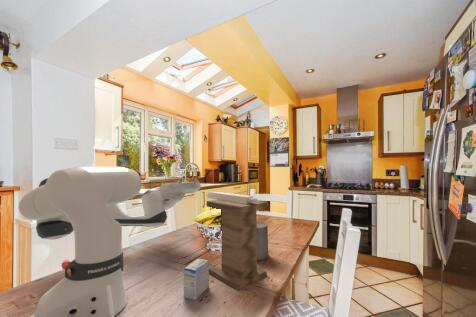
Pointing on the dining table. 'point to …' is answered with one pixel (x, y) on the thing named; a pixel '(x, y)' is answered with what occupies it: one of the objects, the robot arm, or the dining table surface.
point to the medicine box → (196, 278)
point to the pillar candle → (262, 241)
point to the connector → (231, 197)
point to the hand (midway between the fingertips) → (188, 181)
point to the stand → (238, 243)
